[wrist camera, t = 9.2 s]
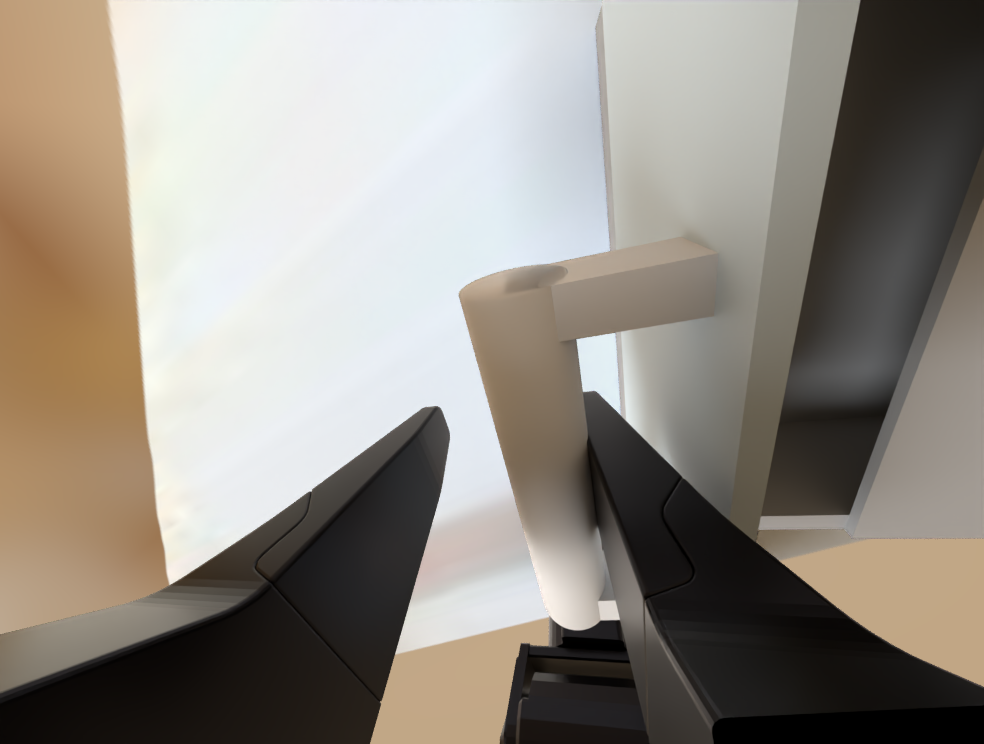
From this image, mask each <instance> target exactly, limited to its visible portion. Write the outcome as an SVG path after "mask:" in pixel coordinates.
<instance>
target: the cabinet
mask: <svg viewBox="0 0 984 744" xmlns="http://www.w3.org/2000/svg"><path fill="white" fill-rule="evenodd" d="M596 41H597V56H598V72H599V87H600V102H601V117H602V132H603V148H604V163H605V178H606V193H607V208H608V224H609V239H610V251H614V250H616V238H615V221H614V203H613V186H612V169H611V152H610V135H609V117H608V100H607V83H606V66H605V49H604V31H603V14H602V6H601V10H600V13H599V17H598V20H597V24H596ZM616 345H617V360H618V376H619V391H620V406H621V416H622V417H623V418H624V419H625V420H626V410H625V393H624V375H623V358H622V341H621V332H616ZM795 529H845V531H846V532H847V533H848V534H849V536H850V537H851V538H852V539H888V538H889V539H895V538H897V539H898V538H900V539H901V538H903V539H907V538H909V539H912V538H913V539H914V538H915V539H916V538H917V539H919V538H920V539H921V538H984V0H860V5H859V10H858V15H857V21H856V26H855V31H854V36H853V41H852V47H851V52H850V57H849V62H848V67H847V72H846V78H845V83H844V88H843V93H842V98H841V104H840V109H839V114H838V119H837V124H836V129H835V135H834V140H833V145H832V150H831V155H830V161H829V166H828V171H827V176H826V181H825V187H824V192H823V197H822V202H821V207H820V212H819V218H818V223H817V228H816V233H815V238H814V244H813V249H812V254H811V259H810V264H809V270H808V275H807V280H806V285H805V290H804V295H803V301H802V306H801V311H800V316H799V321H798V327H797V332H796V337H795V342H794V347H793V352H792V358H791V363H790V368H789V373H788V378H787V384H786V389H785V394H784V399H783V404H782V410H781V415H780V420H779V425H778V430H777V435H776V441H775V446H774V451H773V456H772V461H771V467H770V472H769V477H768V482H767V487H766V493H765V498H764V503H763V508H762V513H761V518H760V524H759V529H758V530H795Z"/></svg>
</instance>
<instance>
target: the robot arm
mask: <svg viewBox="0 0 984 744" xmlns="http://www.w3.org/2000/svg"><path fill="white" fill-rule="evenodd" d="M583 398H584V406H585V414H586V422H587V431H588V440H587V447H588V455H589V463H590V471H591V479H592V487H593V494H594V502H595V510H596V518H597V525H598V529H599V534H600V538H601V544H602V550H604V555H605V559H606V563H607V567H608V571H609V576H610V580H611V584H612V588H613V592H614V597H615V601H616V605H617V609H618V613H619V618H620V620H600V621H599V622H598V623H597V624H596V625H595V626H593V627H591V628H589V629H585V630H571V629H567V628H564V627H562V626H560V625H559V624H558V623H556V622H555V621H554V620H553V619H552V618H551V617H550V615H549V646H533V645H530V644H528V643H521V646H520V651H519V656H518V657H517V659H516V665H515V670H514V676H513V682H512V687H511V693H510V699H509V705H508V710H507V716H506V719H505V723H504V726H503V729H502V733H501V737H500V744H984V687H983V686H981V685H978V684H976V683H974V682H971V681H969V680H967V679H964V678H962V677H960V676H958V675H955V674H953V673H951V672H948V671H946V670H943V669H941V668H939V667H937V666H935V665H932V664H930V663H928V662H925V661H923V660H921V659H919V658H917V657H914V656H912V655H910V654H908V653H907V652H905V651H903V650H901V649H899V648H897V647H895V646H894V645H891V644H890V643H889V642H887V641H885V640H884V639H882V638H880V637H878V636H877V635H875V634H874V633H872V632H871V631H869V630H868V629H866V628H865V627H863V626H862V625H860V624H859V623H858V622H856V621H855V620H853V619H852V618H850V617H849V616H848V615H846V614H845V613H844V612H842V611H841V610H840V609H839V608H837V607H836V606H835V605H833V604H832V603H831V602H829V601H828V600H827V599H826V598H824V597H823V596H822V595H821V594H820V593H818V592H817V591H816V590H814V589H813V588H812V587H811V586H810V585H808V584H807V583H806V582H805V581H803V580H802V579H801V578H800V577H798V576H797V575H796V574H795V573H794V572H792V571H791V570H790V569H789V568H787V567H786V566H785V565H783V564H782V563H781V562H780V561H779V560H777V559H776V558H775V557H774V556H772V555H771V554H770V553H769V552H767V551H766V550H765V549H764V548H762V547H761V546H760V545H759V544H757V543H756V542H755V541H754V540H752V539H751V538H750V537H749V536H748V535H746V534H745V533H744V532H743V531H742V530H740V529H739V528H738V527H737V526H736V525H734V524H733V523H732V522H731V521H730V520H728V519H727V518H726V517H725V516H724V515H722V514H721V513H720V512H719V511H718V510H717V509H716V508H715V507H714V506H713V505H712V504H710V503H709V502H708V501H707V500H706V499H705V498H704V497H703V496H702V495H701V494H700V493H699V492H698V491H697V490H696V489H695V488H694V487H693V486H692V485H691V484H690V483H689V482H688V481H687V480H686V479H683V478H682V476H681V475H680V474H679V473H678V472H677V471H676V470H675V469H674V468H673V467H672V466H671V465H670V464H669V463H668V462H667V461H666V460H665V459H664V458H663V457H662V456H661V455H660V454H659V453H658V452H657V451H656V450H655V449H654V448H653V447H652V446H651V445H650V444H649V443H648V442H647V441H646V440H645V439H644V438H643V437H642V436H641V435H640V434H639V433H638V432H637V431H636V430H635V429H634V428H633V427H632V426H631V425H630V424H629V423H628V422H627V421H626V420H625V419H624V418H623V417H622V416H621V415H620V414H619V413H618V412H617V411H616V410H615V409H613V408H612V407H611V406H610V405H609V404H608V403H607V402H606V401H605V400H604V399H603V398H602V397H601V396H600V395H599V394H598V393H597V392H596V391H590V392H583ZM449 441H450V433H449V429H448V426H447V423H446V421H445V418H444V415H443V412H442V410H441V408H440V407H438V406H433V407H425V408H422V409H421V410H420V411H418V412H417V413H416V414H414V415H413V416H412V417H410V418H409V419H407V420H406V421H405V422H403V423H402V424H401V425H399V426H398V427H397V428H395V429H394V430H392V431H391V432H390V433H388V434H387V435H386V436H384V437H383V438H382V439H380V440H379V441H377V442H376V443H375V444H373V445H372V446H371V447H369V448H368V449H367V450H365V451H364V452H362V453H361V454H360V455H358V456H357V457H356V458H354V459H353V460H352V461H350V462H349V463H347V464H346V465H345V466H343V467H342V468H341V469H339V470H338V471H337V472H335V473H334V474H333V475H331V476H330V477H328V478H327V479H326V480H324V481H323V482H322V483H320V484H319V485H318V486H316V487H315V488H313V489H312V492H308V493H306V494H305V495H304V496H302V497H301V498H300V499H298V500H297V501H296V502H294V503H293V504H291V505H290V506H289V507H287V508H286V509H284V510H283V511H282V512H280V513H279V514H277V515H276V516H275V517H273V518H272V519H270V520H269V521H267V522H266V523H264V524H263V525H261V526H260V527H258V528H257V529H255V530H254V531H252V532H251V533H249V534H248V535H247V536H245V537H243V538H242V539H240V540H239V541H237V542H236V543H234V544H233V545H231V546H230V547H228V548H227V549H225V550H224V551H222V552H221V553H219V554H218V555H216V556H215V557H213V558H212V559H210V560H208V561H207V562H205V563H204V564H202V565H201V566H199V567H198V568H196V569H195V570H193V571H192V572H190V573H189V574H187V575H186V576H184V577H183V578H181V579H179V580H178V581H176V582H174V583H173V584H171V585H169V586H167V587H166V588H164V589H162V590H160V591H158V592H156V593H153V594H151V595H149V596H146V597H144V598H141V599H139V600H136V601H133V602H130V603H126V604H123V605H119V606H115V607H110V608H106V609H102V610H98V611H94V612H90V613H86V614H82V615H78V616H74V617H70V618H65V619H61V620H57V621H53V622H49V623H45V624H41V625H37V626H33V627H29V628H25V629H21V630H16V631H12V632H8V633H4V634H0V744H370V741H371V738H372V734H373V731H374V727H375V724H376V720H377V717H378V713H379V710H380V706H381V703H380V701H382V698H383V694H384V691H385V687H386V684H387V680H388V677H389V673H390V670H391V666H392V663H393V659H394V656H395V652H396V649H397V645H398V642H399V638H400V635H401V631H402V628H403V624H404V621H405V617H406V614H407V610H408V607H409V603H410V599H411V596H412V592H413V589H414V585H415V582H416V578H417V575H418V571H419V568H420V564H421V561H422V557H423V554H424V550H425V547H426V543H427V540H428V536H429V533H430V529H431V526H432V522H433V519H434V515H435V511H436V508H437V504H438V501H439V497H440V493H441V489H442V484H443V478H444V472H445V466H446V459H447V453H448V447H449Z"/></svg>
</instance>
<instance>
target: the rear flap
mask: <svg viewBox="0 0 984 744" xmlns="http://www.w3.org/2000/svg"><path fill="white" fill-rule="evenodd" d="M859 5H860V0H602V14H603V31H604V49H605V66H606V83H607V100H608V117H609V135H610V152H611V169H612V186H613V203H614V221H615V238H616V250H614V251H609V252H604V253H599V254H594V255H590V256H585V257H580V258H575V259H570V260H565V261H561V262H556V263H551V264H543V265H531V266H524V267H518V268H513V269H508V270H504V271H501V272H497V273H494V274H491V275H488V276H485V277H482V278H480V279H478V280H475V281H473V282H471V283H470V284H468V285H466V286H465V287H464V288H462V289H461V291H460V292H459V298H460V302H461V305H462V309H463V312H464V316H465V320H466V323H467V327H468V331H469V334H470V338H471V341H472V345H473V349H474V352H475V356H476V360H477V363H478V367H479V370H480V374H481V378H482V381H483V385H484V389H485V392H486V396H487V399H488V403H489V407H490V410H491V414H492V418H493V421H494V425H495V429H496V432H497V436H498V439H499V443H500V447H501V450H502V454H503V458H504V461H505V465H506V468H507V472H508V476H509V479H510V483H511V487H512V490H513V494H514V497H515V501H516V505H517V508H518V512H519V516H520V519H521V523H522V526H523V530H524V534H525V537H526V541H527V545H528V548H529V552H530V555H531V559H532V563H533V566H534V570H535V574H536V577H537V581H538V584H539V588H540V592H541V595H542V599H543V603H544V606H545V609H546V610H547V612H548V614H549V615H550V617H551V618H552V619H553V620H554V621H555V622H556V623H558V624H559V625H560V626H562V627H564V628H567V629H571V630H585V629H589V628H591V627H593V626H595V625H596V624H597V623H598V622H599V621H600V620H620V618H619V613H618V609H617V605H616V601H615V597H614V592H613V588H612V584H611V580H610V576H609V571H608V567H607V563H606V559H605V555H604V550H602V544H601V538H600V534H599V529H598V525H597V518H596V510H595V502H594V494H593V487H592V479H591V471H590V463H589V455H588V447H587V440H588V431H587V422H586V414H585V406H584V398H583V390H582V382H581V374H580V366H579V358H578V350H577V341H576V339H580V338H586V337H592V336H598V335H604V334H610V333H616V332H621V341H622V358H623V375H624V393H625V410H626V421H627V422H628V423H629V424H630V425H631V426H632V427H633V428H634V429H635V430H636V431H637V432H638V433H639V434H640V435H641V436H642V437H643V438H644V439H645V440H646V441H647V442H648V443H649V444H650V445H651V446H652V447H653V448H654V449H655V450H656V451H657V452H658V453H659V454H660V455H661V456H662V457H663V458H664V459H665V460H666V461H667V462H668V463H669V464H670V465H671V466H672V467H673V468H674V469H675V470H676V471H677V472H678V473H679V474H680V475H681V476H682V478H683V479H686V480H687V481H688V482H689V483H690V484H691V485H692V486H693V487H694V488H695V489H696V490H697V491H698V492H699V493H700V494H701V495H702V496H703V497H704V498H705V499H706V500H707V501H708V502H709V503H710V504H712V505H713V506H714V507H715V508H716V509H717V510H718V511H719V512H720V513H721V514H722V515H724V516H725V517H726V518H727V519H728V520H730V521H731V522H732V523H733V524H734V525H736V526H737V527H738V528H739V529H740V530H742V531H743V532H744V533H745V534H746V535H748V536H749V537H750V538H751V539H752V540H754V541H755V542H756V539H757V534H758V529H759V524H760V518H761V513H762V508H763V503H764V498H765V493H766V487H767V482H768V477H769V472H770V467H771V461H772V456H773V451H774V446H775V441H776V435H777V430H778V425H779V420H780V415H781V410H782V404H783V399H784V394H785V389H786V384H787V378H788V373H789V368H790V363H791V358H792V352H793V347H794V342H795V337H796V332H797V327H798V321H799V316H800V311H801V306H802V301H803V295H804V290H805V285H806V280H807V275H808V270H809V264H810V259H811V254H812V249H813V244H814V238H815V233H816V228H817V223H818V218H819V212H820V207H821V202H822V197H823V192H824V187H825V181H826V176H827V171H828V166H829V161H830V155H831V150H832V145H833V140H834V135H835V129H836V124H837V119H838V114H839V109H840V104H841V98H842V93H843V88H844V83H845V78H846V72H847V67H848V62H849V57H850V52H851V47H852V41H853V36H854V31H855V26H856V21H857V15H858V10H859Z"/></svg>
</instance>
